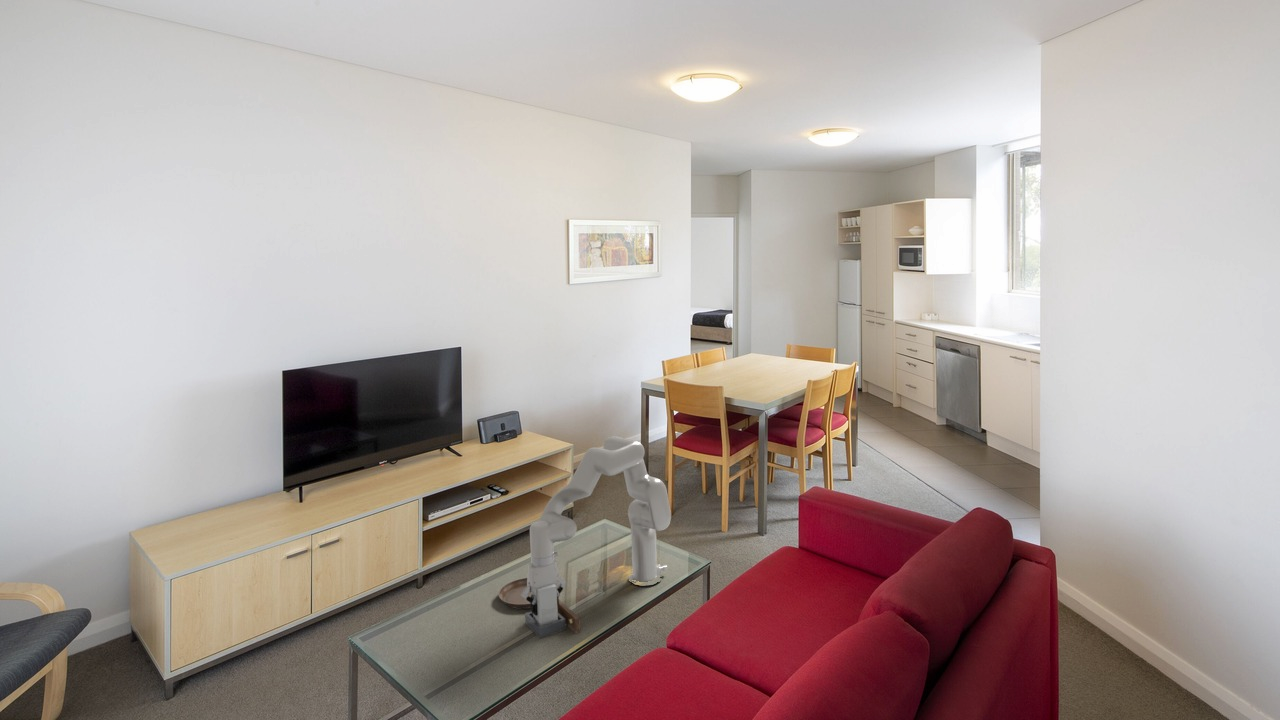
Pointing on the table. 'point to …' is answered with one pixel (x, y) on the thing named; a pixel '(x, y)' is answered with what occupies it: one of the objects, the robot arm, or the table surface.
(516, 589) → the plant saucer
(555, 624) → the gray square tray
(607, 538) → the table surface
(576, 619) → the brown l-shaped wood piece
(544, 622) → the small box
